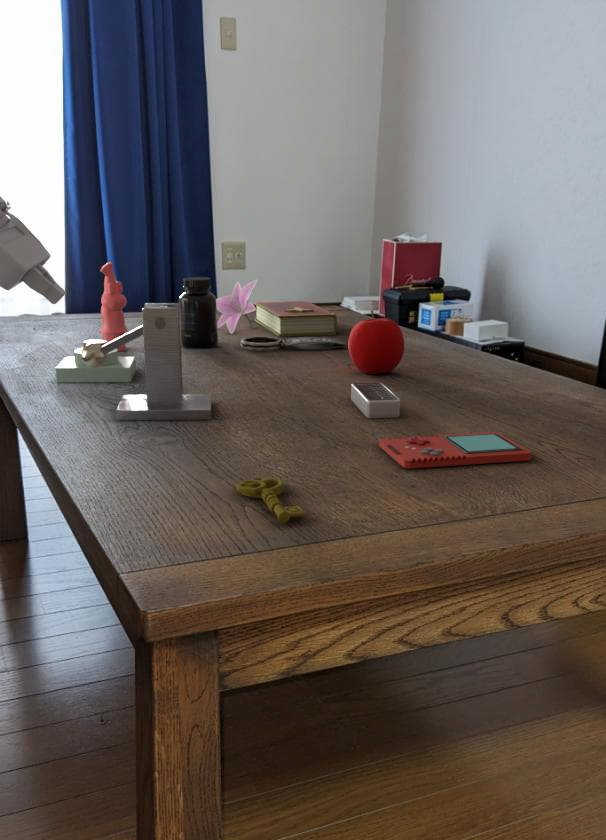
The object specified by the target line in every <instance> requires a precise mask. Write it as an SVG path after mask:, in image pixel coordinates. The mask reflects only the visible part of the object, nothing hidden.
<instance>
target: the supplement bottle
mask: <svg viewBox="0 0 606 840" xmlns="http://www.w3.org/2000/svg"><path fill="white" fill-rule="evenodd" d="M182 280H183V282H182V283H183V286H182V289H183V290H184V292H183V293H182V294H181V295H180V296H179V298H178V303H179V310H180V335H181V346H183V347H184V348H190V349H206V348H213V347H215V346H217V345H218V343H219V331H218V330H219V328H217V322H218V310H217V304H216V299H217V297H216V295H214V293H212V292H211V291H210V289H211V287H212V286H211V278H210V277H206V276H189V277H184V278H183V279H182Z"/></svg>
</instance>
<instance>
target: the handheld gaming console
mask: <svg viewBox="0 0 606 840" xmlns="http://www.w3.org/2000/svg"><path fill="white" fill-rule="evenodd" d="M379 448H380V449H382V450H383V452H385V453H386V454H387V455H389V456H390V457H391V458H392V459H393V460H394V461H395V462H397V463H398V464H399V465H400V466H401V467H403V469H422V468H425V469H426V468H436V467H438V468H439V467H452V466H453V467H455V466H468V465H481V464H482V465H483V464H496V463H497V464H498V463H511V462H524V461H525V462H527V461H531V457H532V451H530V450H528V449H527V448H526V447H523V446H522V445H520V444H519V443H517V442H515V441H513V440H512V439H510V438H508V437H506V435H503V434H502V433H500V432H498V431H488V432H486V431H485V432H473V433H472V432H471V433H455V434H437V435H430V436H429V435H425V436H414V437H413V436H409V437H407V436H404V437H398V438H397V437H393V438H392V437H388V438H380V439H379Z"/></svg>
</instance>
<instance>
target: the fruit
mask: <svg viewBox="0 0 606 840" xmlns="http://www.w3.org/2000/svg"><path fill="white" fill-rule="evenodd" d="M370 313H371V316H372V318H369V319H364V320H361V321H359V322H357V324H354V326H353V328H352V329H351V331H350V334H349V337H348V343H347V347H348V354H349V357H350V359H351V361H352V363H353V365H354V366H355V367H356V369H357V370H359V371H361V372H362V373H365V375H366V374H367V375H379V374H388V373H390V372H392V371H394V369H396V367H398V365H399V364H400V362H401V361H402V359H403V356H404V353H405V338H404V334H403V331H402V329H401V327H400V326H399V324H397V322H396V321H394V320H393V319H391V318H385V317H381V318H375V314H374V309H370Z"/></svg>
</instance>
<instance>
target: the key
mask: <svg viewBox="0 0 606 840" xmlns="http://www.w3.org/2000/svg"><path fill="white" fill-rule="evenodd" d="M235 490H236V491H237V492H239V493H241V495H243V496H245V497H249V498H254V499H262V500H263V502H264V503H265V505H266V506H267V508H268V510H269V511H270V513H271V514H272V515H276V516H277V520H278V522H279V523H281V524H285V523H288V522H289V520H290V519H291V518H299V517H305V512H304V510H303V509H302V508H301V506H299V505H294V506H293V505H292V506H284V504H283V503H282V501H281V500H280V498H279V497H278V496H280V495H281V494H283V493H284V491H285V483H284V481H283V480H282V479H280V478H274V477H271V478H264V477H254V478H252V479H246V480H242V481H240V483H237V484H236V485H235Z"/></svg>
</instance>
